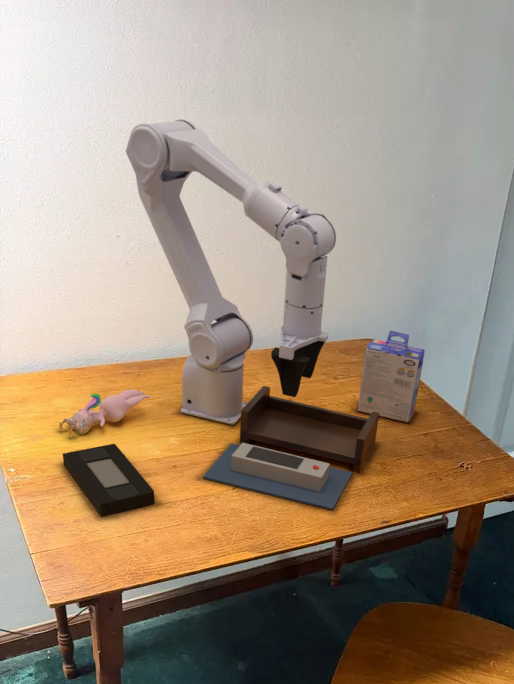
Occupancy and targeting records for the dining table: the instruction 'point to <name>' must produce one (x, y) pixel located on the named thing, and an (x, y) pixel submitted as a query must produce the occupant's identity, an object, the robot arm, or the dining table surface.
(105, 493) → the vhs tape
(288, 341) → the robot arm
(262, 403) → the dark wooden tray
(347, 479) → the desk mat
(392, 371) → the ink cartridge box
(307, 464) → the remote
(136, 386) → the dining table surface
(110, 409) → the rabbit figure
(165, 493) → the dining table surface
